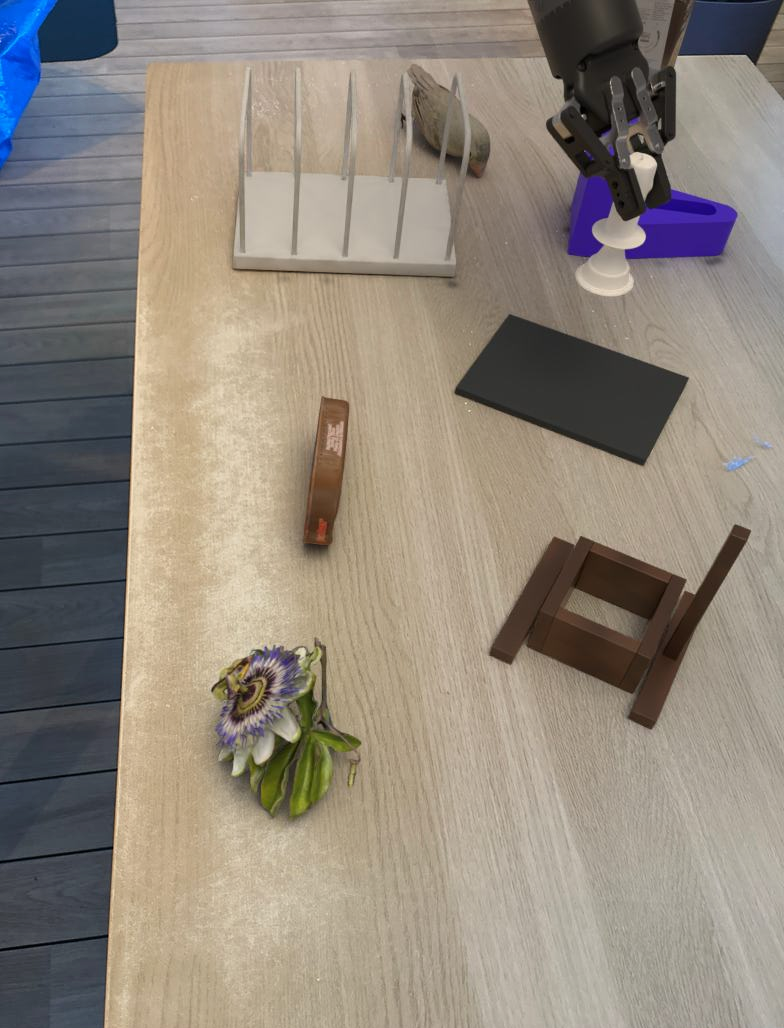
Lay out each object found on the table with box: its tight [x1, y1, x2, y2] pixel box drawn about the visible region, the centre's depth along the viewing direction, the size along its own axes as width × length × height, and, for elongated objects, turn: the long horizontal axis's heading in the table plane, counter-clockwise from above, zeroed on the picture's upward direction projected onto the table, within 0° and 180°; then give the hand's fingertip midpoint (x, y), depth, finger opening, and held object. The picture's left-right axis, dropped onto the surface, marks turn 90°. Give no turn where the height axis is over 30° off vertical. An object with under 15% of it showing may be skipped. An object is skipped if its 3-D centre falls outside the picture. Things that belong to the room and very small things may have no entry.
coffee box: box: [635, 0, 696, 135], centre depth 128 cm, size 9×6×16 cm
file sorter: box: [232, 66, 471, 278], centre depth 110 cm, size 25×17×16 cm
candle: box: [574, 152, 657, 298], centre depth 86 cm, size 5×5×12 cm
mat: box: [454, 313, 690, 466], centre depth 101 cm, size 20×14×1 cm
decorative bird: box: [400, 63, 491, 178], centre depth 125 cm, size 5×16×8 cm, turn 33°
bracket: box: [567, 118, 738, 260], centre depth 113 cm, size 18×11×12 cm, turn 79°
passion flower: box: [210, 636, 362, 822], centre depth 73 cm, size 11×11×12 cm
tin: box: [302, 395, 350, 546], centre depth 88 cm, size 15×3×8 cm, turn 175°
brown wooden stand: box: [488, 523, 752, 730], centre depth 77 cm, size 14×14×16 cm
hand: (647, 210), depth 84 cm, fingers closed on candle, 2 cm apart
